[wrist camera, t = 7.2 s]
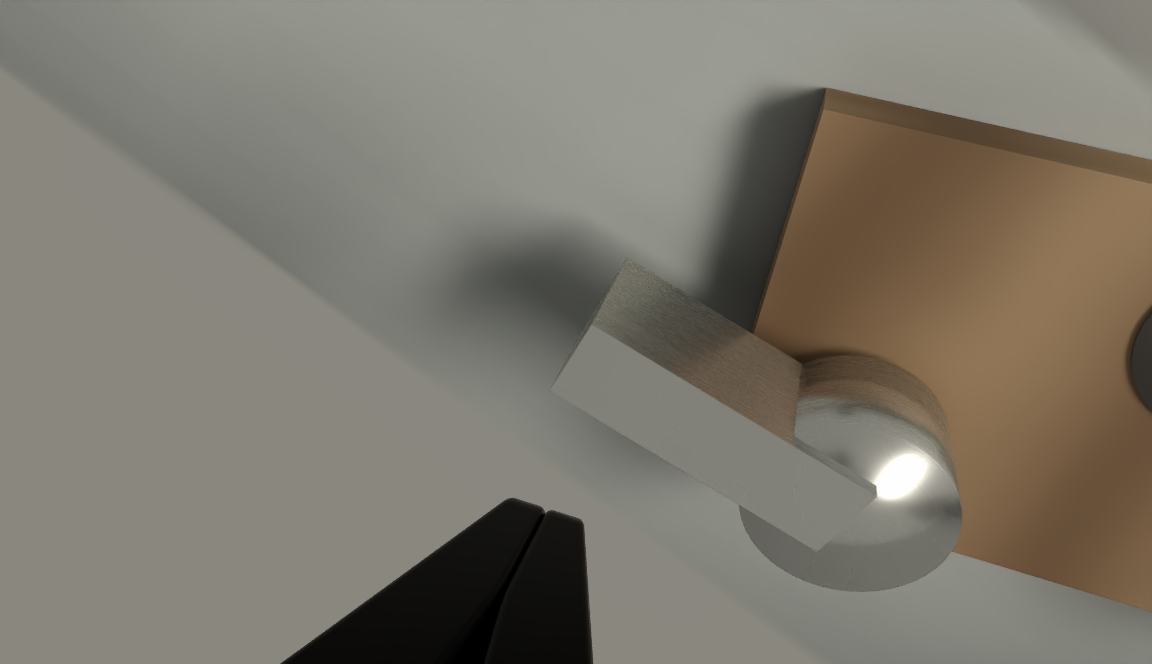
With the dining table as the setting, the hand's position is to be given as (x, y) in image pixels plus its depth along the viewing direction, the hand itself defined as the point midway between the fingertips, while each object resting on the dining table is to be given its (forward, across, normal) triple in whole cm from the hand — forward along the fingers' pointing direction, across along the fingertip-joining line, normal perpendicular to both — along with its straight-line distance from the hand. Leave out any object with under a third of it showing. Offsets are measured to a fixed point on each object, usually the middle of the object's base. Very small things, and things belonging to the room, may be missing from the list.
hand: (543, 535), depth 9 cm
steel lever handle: (+9, -3, +3) cm, 10 cm away
